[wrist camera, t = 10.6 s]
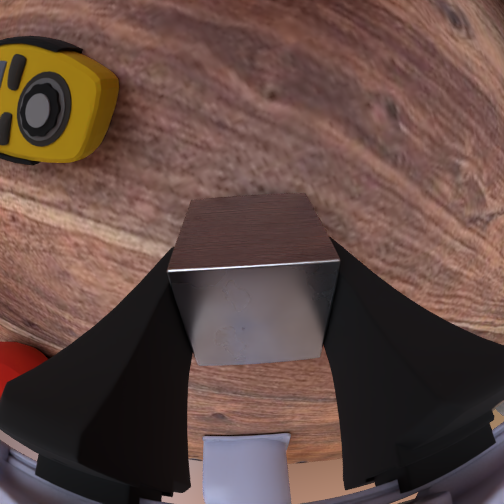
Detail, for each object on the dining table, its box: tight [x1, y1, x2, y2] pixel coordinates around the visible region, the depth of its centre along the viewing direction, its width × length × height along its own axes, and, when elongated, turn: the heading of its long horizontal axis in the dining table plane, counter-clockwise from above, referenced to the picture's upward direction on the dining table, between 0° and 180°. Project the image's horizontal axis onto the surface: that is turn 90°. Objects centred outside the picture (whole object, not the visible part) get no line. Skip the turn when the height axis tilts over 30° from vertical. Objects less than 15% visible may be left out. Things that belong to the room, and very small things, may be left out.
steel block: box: [167, 193, 340, 366], centre depth 9 cm, size 4×4×4 cm
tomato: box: [0, 342, 48, 398], centre depth 14 cm, size 11×11×8 cm
